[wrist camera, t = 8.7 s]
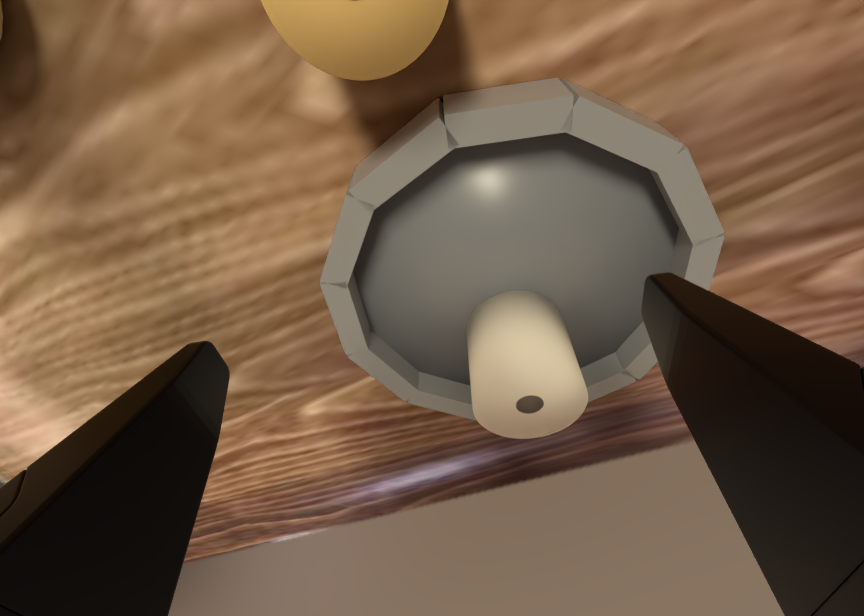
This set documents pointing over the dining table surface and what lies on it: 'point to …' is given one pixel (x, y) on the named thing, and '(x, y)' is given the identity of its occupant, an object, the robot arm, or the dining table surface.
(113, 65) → the dining table surface
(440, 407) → the round tray
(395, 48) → the ochre bead
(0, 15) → the bread roll
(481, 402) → the cream bead
